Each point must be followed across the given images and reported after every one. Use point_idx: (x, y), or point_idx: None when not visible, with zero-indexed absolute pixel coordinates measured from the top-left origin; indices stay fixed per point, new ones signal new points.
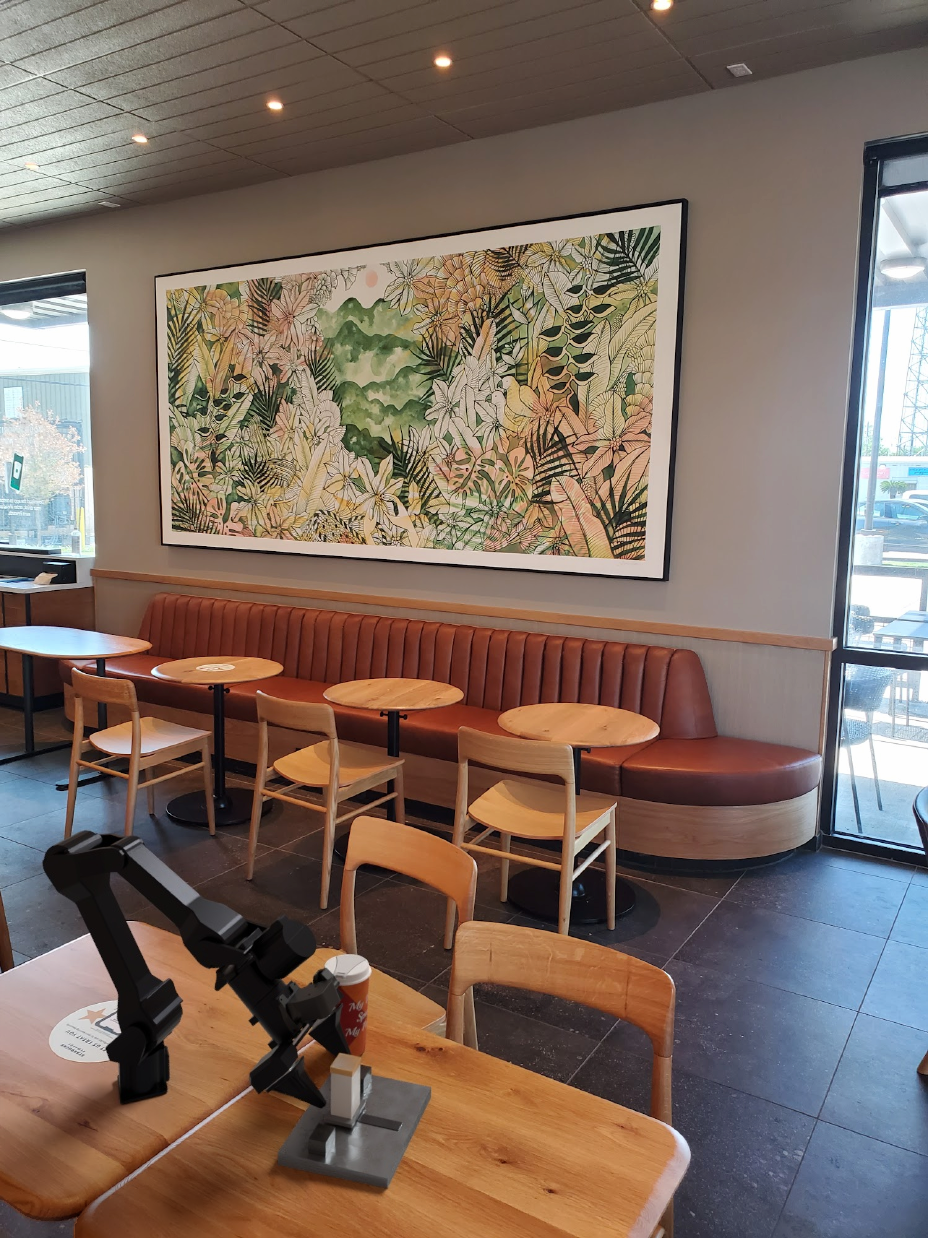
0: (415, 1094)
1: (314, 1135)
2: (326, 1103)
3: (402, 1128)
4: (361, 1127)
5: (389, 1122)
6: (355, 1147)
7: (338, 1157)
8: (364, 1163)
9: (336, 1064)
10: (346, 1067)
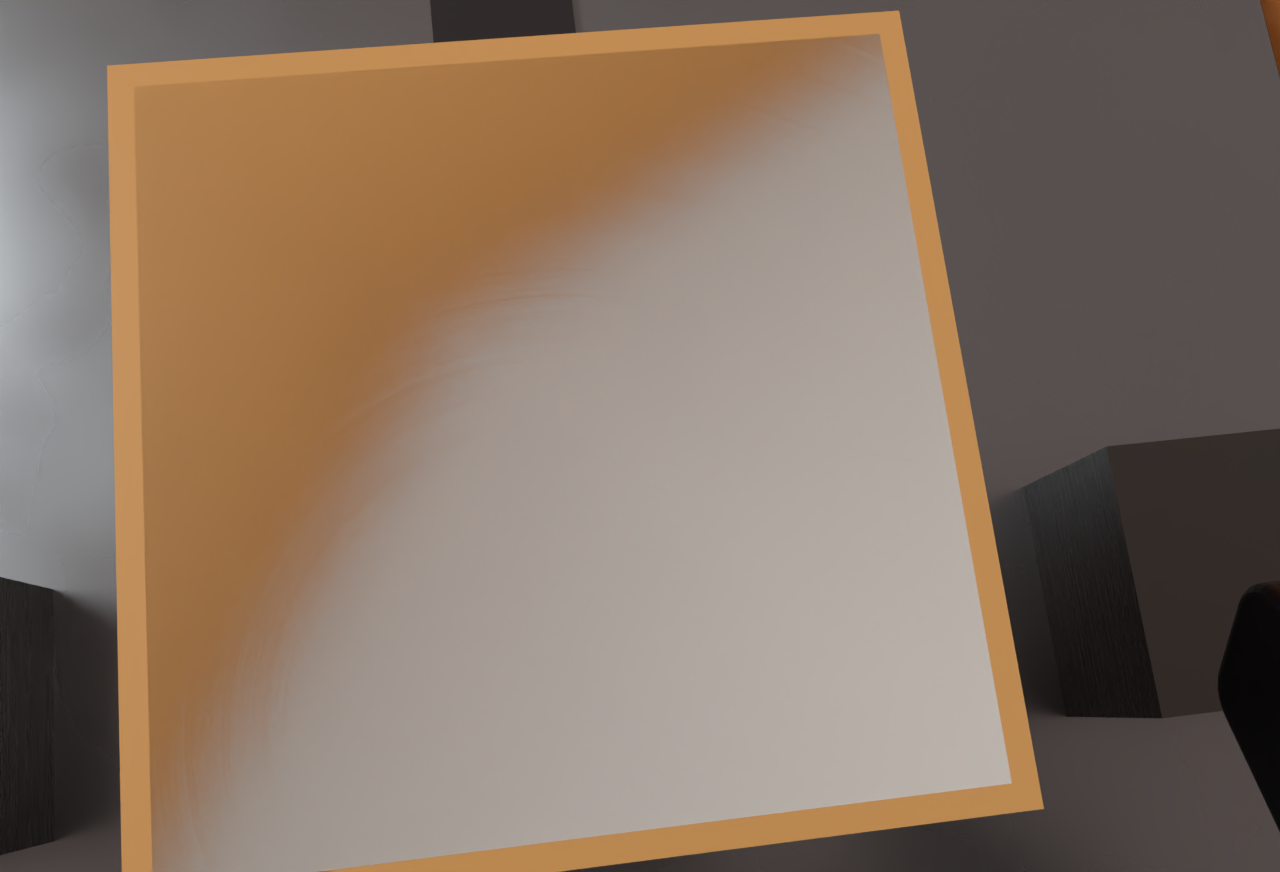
0: None
1: None
2: (1273, 582)
3: None
4: None
5: None
6: (995, 225)
7: (1214, 326)
8: (1146, 40)
9: (808, 666)
10: (804, 259)
